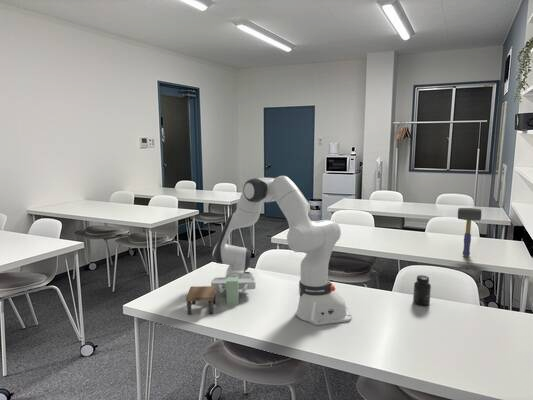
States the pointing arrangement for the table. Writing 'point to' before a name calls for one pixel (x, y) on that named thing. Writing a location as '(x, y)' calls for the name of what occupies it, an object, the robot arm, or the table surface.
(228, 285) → the green block
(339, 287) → the table surface
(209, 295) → the peg shelf
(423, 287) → the supplement bottle
